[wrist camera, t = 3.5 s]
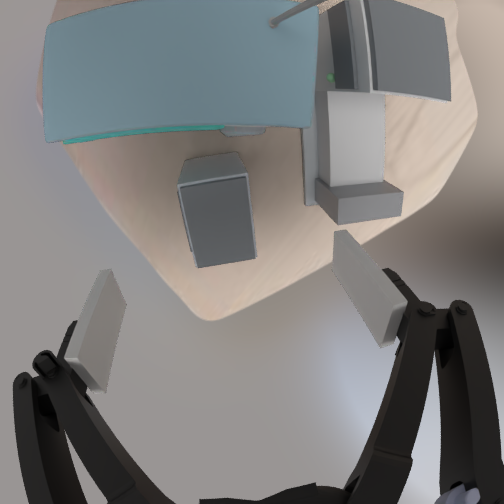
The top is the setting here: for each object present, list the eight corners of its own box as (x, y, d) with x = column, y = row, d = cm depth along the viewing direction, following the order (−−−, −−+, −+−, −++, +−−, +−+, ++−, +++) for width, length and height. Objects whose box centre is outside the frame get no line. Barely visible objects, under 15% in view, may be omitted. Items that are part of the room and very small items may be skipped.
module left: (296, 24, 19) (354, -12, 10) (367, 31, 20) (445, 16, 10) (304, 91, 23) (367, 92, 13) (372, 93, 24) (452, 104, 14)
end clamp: (314, 178, 28) (338, 198, 23) (372, 173, 28) (403, 191, 23) (314, 200, 29) (337, 225, 24) (371, 194, 30) (400, 215, 25)
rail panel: (290, 21, 20) (302, 12, 17) (364, 28, 20) (382, 23, 17) (304, 204, 30) (315, 217, 27) (368, 196, 31) (384, 208, 27)
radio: (106, 133, 23) (-41, 220, 6) (106, 46, 18) (-44, 5, 1) (269, 126, 25) (392, 198, 8) (274, 39, 21) (406, -42, 4)
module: (182, 160, 26) (172, 187, 19) (236, 151, 26) (248, 174, 19) (195, 225, 29) (192, 271, 22) (244, 216, 30) (258, 260, 23)
